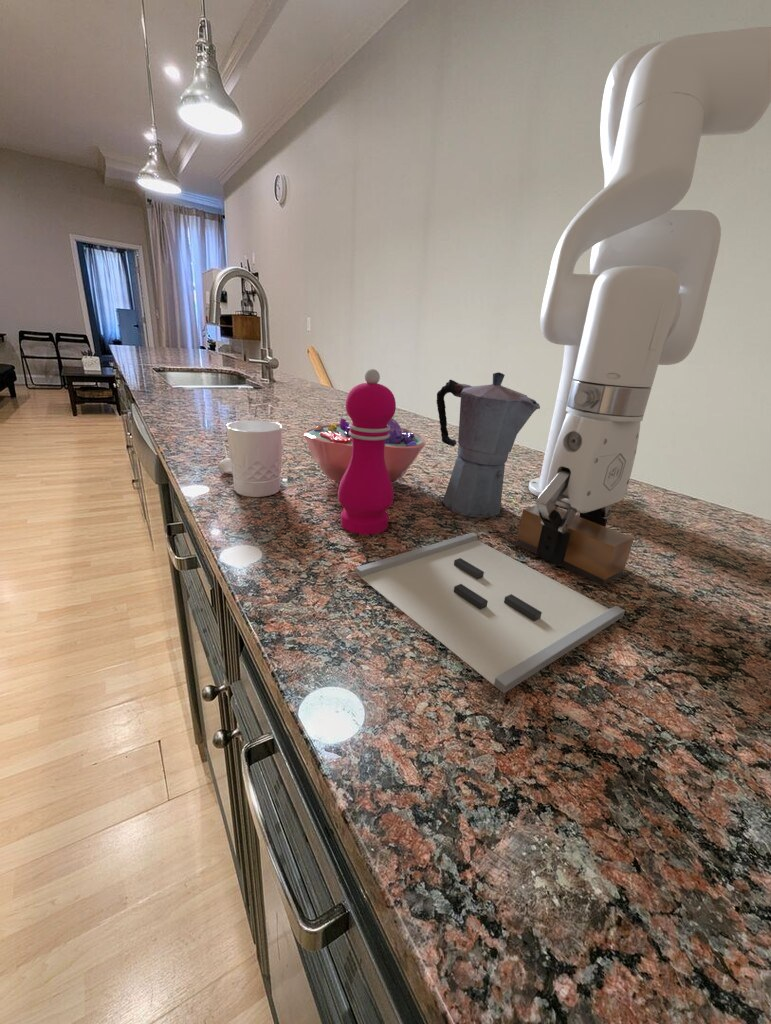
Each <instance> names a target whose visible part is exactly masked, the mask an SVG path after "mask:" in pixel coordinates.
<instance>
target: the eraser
mask: <svg viewBox="0 0 771 1024" xmlns="http://www.w3.org/2000/svg"><path fill="white" fill-rule="evenodd" d="M556 511H558V512H559V514H560V516H561V518H562V519H563V517H564V515H565V513H566V511H567V510H566V511H565V510H564V509H562V508H559V507H558V508H557V510H556ZM539 513H540V512H539V509H538V507H537V505H534V506H531V507H526V508H523V509H522V512H521V518H520V522H519V528H518V533H517V536H516V537H517V539H516V542H515V544H516V545H517V546H519V547H522V548H524V549H526V550H528V551H530V552H532V553H534V554H536V555H537V548H538V543H539V539H540V534H541V530H542V525H541V518H540V515H539ZM579 516H580V515H576V514H575V516H574V518H573V520H572V522H571V524H570V526H569V528H568V530H567V532H570V533H571V534H570V538H569V542H568V546H567V550H566V554H565V558H564V562H563V563H562V564H560V565H559V566H561V567H563V568H565V569H566V570H569V571H571V572H573V573H575V574H577V575H579V576H581V577H583V578H585V579H587V580H589V581H590V582H591V581H592V582H593V583H595V584H598V585H600V586H602V587H603V586H605V585H607V584H609V583H611V582H613V581H614V580H616V579H619V578H620V577H622V576H623V575H624V572H625V568H626V566H627V562H628V559H629V556H630V553H631V549H632V547H633V544H634V540H635V537H633V536H630V535H628V534H625V533H623V532H620V531H617V530H614V529H612V528H610V527H607V526H606V527H605V526H602V525H599V524H597V523H594V522H592V521H589V520H586V519H584V518H581V517H579Z"/></svg>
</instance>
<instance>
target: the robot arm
mask: <svg viewBox="0 0 771 1024" xmlns="http://www.w3.org/2000/svg"><path fill="white" fill-rule="evenodd" d="M603 90H604V91H603V95H602V102H601V109H600V124H599V132H600V133H599V141H600V152H601V160H602V166H603V167H602V168H603V176H604V177H603V178H604V179H603V180H604V186H603V188H602V189H600V191H599V192H598V193H596V195H594V196H593V197H592V198H591V199H590V200H588V201H587V202H586V204H585V205H584V206H583V207H582V208H580V210H579V211H578V212H577V213H576V214H575V215H574V217H573V218H572V219H571V221H570V222H569V223H568V225H567V226H566V228H565V229H564V231H563V232H562V234H561V236H560V238H559V239H558V242H557V244H556V247H555V249H554V252H553V254H552V258H551V261H550V267H549V272H548V276H547V281H546V285H545V289H544V293H543V299H542V304H541V309H540V319H539V325H540V326H539V327H540V331H541V334H542V335H543V337H544V338H545V339H546V340H547V341H548V342H550V343H552V344H555V345H559V346H564V347H563V348H564V349H563V357H562V366H561V367H562V368H561V372H560V378H559V385H558V389H557V394H556V399H555V404H554V409H553V413H552V418H551V423H550V427H549V433H548V438H547V442H546V446H545V452H544V455H543V456H544V457H543V461H542V466H541V471H540V476H539V477H536V478H533V479H531V480H530V481H529V483H528V490H529V492H530V493H531V494H532V495H534V496H535V497H537V498H536V501H535V504H536V506H537V507H538V509H539V512H540V513H539V515H540V518H541V525H542V530H541V534H540V539H539V543H538V548H537V554H536V555H537V556H538V557H541V558H543V559H545V560H546V561H549V562H551V563H553V564H555V565H557V566H561V565H560V564H562V563H563V562H564V558H565V554H566V550H567V546H568V542H569V538H570V534H571V533H570V532H567V530H568V528H569V526H570V524H571V522H572V520H573V518H574V516H575V515H576V514H577V512H578V513H579V515H578V516H579V517H581V518H584V519H586V520H589V521H592V522H594V523H597V524H599V525H602V526H605V527H607V523H608V518H609V517H610V516H611V514H612V505H614V504H617V503H619V502H621V501H622V500H623V499H624V498H625V497H626V495H627V492H628V488H629V483H630V480H631V475H632V472H633V467H634V463H635V458H636V454H637V449H638V444H639V438H640V430H641V422H643V420H644V417H645V413H646V409H647V406H648V403H649V399H650V395H651V391H652V387H653V384H654V381H655V378H656V374H657V371H658V367H659V366H670V365H676V364H679V363H681V362H683V361H684V360H685V359H687V357H688V356H689V355H690V354H691V352H692V350H693V349H694V347H695V344H696V342H697V339H698V336H699V332H700V329H701V325H702V321H703V318H704V313H705V308H706V304H707V300H708V296H709V292H710V287H711V284H712V280H713V275H714V272H715V271H714V270H715V266H716V264H717V263H716V262H717V259H718V254H719V248H720V243H721V235H722V228H721V224H720V223H721V222H720V220H719V218H718V217H717V216H716V215H715V213H713V212H711V211H707V210H702V209H673V208H676V206H677V205H678V204H679V203H680V202H682V200H684V198H685V197H686V195H687V194H688V192H689V190H690V188H691V185H692V182H693V179H694V174H695V173H694V172H695V168H696V162H697V158H698V150H699V146H700V141H701V137H706V136H707V137H709V136H726V135H740V134H744V133H746V132H748V131H750V130H751V129H752V128H754V127H755V126H756V124H757V123H758V122H759V121H760V120H761V119H762V117H763V116H764V115H765V113H766V111H767V110H768V108H769V106H770V104H771V26H757V27H755V26H754V27H748V28H747V27H746V28H740V29H730V30H722V31H721V30H720V31H711V32H702V33H701V32H700V33H694V34H687V35H682V36H677V37H673V38H671V39H668V40H667V39H666V40H663V41H656V42H651V43H647V44H644V45H640V46H638V47H636V48H634V49H631V50H629V51H627V52H626V53H624V54H622V55H621V56H620V57H619V59H617V60H616V62H614V64H613V65H612V67H611V68H610V71H609V73H608V75H607V78H606V82H605V84H604V89H603ZM590 249H591V251H590V260H589V272H590V273H574V271H575V267H576V265H577V262H578V261H579V259H580V258H581V257H582V256H583V255H584V254H585V253H586V252H587V251H588V250H590ZM557 508H558V509H562V510H564V511H565V510H566V513H565V515H564V517H563V519H562V518H561V516H560V514H559V512H558V511H556V510H557Z"/></svg>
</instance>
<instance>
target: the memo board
mask: <svg viewBox="0 0 771 1024" xmlns="http://www.w3.org/2000/svg"><path fill="white" fill-rule="evenodd" d="M478 536H479V535H478V534H476V533H475V532H468V533H466V534H461V535H459V536H456V537H452V538H449V539H445V540H441V541H438V542H436V543H433V544H429V545H425V546H422V547H419V548H416V549H412V550H409V551H406V552H403V553H402V552H401V553H399V554H396V555H392V556H389V557H386V558H382V559H379V560H375V561H373V562H369V563H366V564H362V565H359V566H356V567H355V575H356V576H358V577H359V578H360V579H361V580H362V581H364V582H365V583H366V584H368V585H369V586H370V587H371V588H373V589H374V590H375V591H377V592H378V593H379V594H380V595H381V596H382V597H384V598H385V599H386V600H387V601H389V602H390V603H391V604H393V606H395V607H396V608H398V610H400V611H401V612H402V613H404V614H405V616H407V617H409V618H410V619H411V620H412V621H413V622H414V623H416V624H417V625H419V627H421V628H422V629H423V630H425V632H427V633H428V634H429V635H431V636H432V637H433V638H435V639H436V640H437V641H438V642H440V643H441V644H442V645H443V646H444V647H445V648H447V649H448V650H449V651H451V653H452V654H454V655H455V656H456V657H458V658H459V659H461V660H462V661H463V662H464V663H466V664H467V665H468V666H469V667H471V668H472V669H473V670H474V671H475V672H476V673H478V674H479V675H480V676H482V677H483V678H484V679H485V680H486V681H488V682H489V683H490V684H492V685H493V686H494V687H495V688H496V689H497V690H499V691H500V692H501V693H502V694H505V693H507V692H508V691H510V690H512V689H514V688H515V687H516V686H518V685H520V684H521V683H522V682H524V681H526V680H527V679H529V678H531V677H532V676H533V675H535V674H537V673H538V672H539V671H541V670H543V669H545V668H547V666H549V665H551V664H552V663H554V662H556V661H557V660H558V659H560V658H562V657H563V656H565V655H566V654H568V653H569V652H571V651H572V650H574V649H575V648H577V647H579V646H580V645H582V644H583V643H585V642H586V641H588V640H590V639H591V638H593V637H595V636H596V635H597V634H599V633H600V632H602V631H604V630H605V629H607V628H608V627H610V626H611V625H613V624H615V623H616V622H617V621H619V620H621V619H622V618H623V617H624V615H625V612H626V609H624V608H621V607H620V606H618V605H613V606H612V607H611V608H608V607H607V606H604V605H603V604H601V603H599V602H597V601H595V600H593V599H591V598H589V597H587V596H585V595H584V594H582V593H580V592H578V591H576V590H574V589H573V588H570V587H568V586H566V585H564V584H563V583H560V582H558V581H557V580H555V579H553V578H551V577H549V576H547V575H546V574H543V573H542V572H540V571H537V570H535V569H534V568H532V567H530V566H528V565H526V564H524V563H522V562H520V561H518V560H516V559H514V558H513V557H511V556H509V555H507V554H505V553H504V552H502V551H499V550H498V549H496V548H493V547H491V546H489V545H488V544H486V543H484V542H482V541H480V540H478V538H479V537H478ZM459 558H461V559H463V560H465V561H466V562H468V563H470V564H471V565H473V566H475V567H477V568H478V569H480V570H482V571H483V572H484V575H483V577H482V578H480V579H476V578H474V577H472V576H471V575H469V574H468V573H466V572H464V571H463V570H461V569H459V568H458V567H456V566H454V560H456V559H459ZM459 584H462V585H464V586H465V587H467V588H468V589H470V590H472V591H473V592H475V593H476V594H478V595H479V596H481V597H483V598H484V599H486V600H487V601H488V603H487V607H485V608H483V609H481V610H480V609H478V608H477V607H475V606H474V605H472V604H471V603H469V602H468V601H466V600H465V599H463V598H462V597H460V596H459V595H457V594H456V593H454V587H455V586H457V585H459ZM510 594H512V595H514V596H515V597H517V598H519V599H520V600H522V601H524V602H525V603H527V604H529V605H530V606H532V607H534V608H536V609H537V610H539V611H541V612H542V614H541V618H540V619H538V620H536V621H533V620H531V619H529V618H528V617H526V616H525V615H523V614H521V613H520V612H518V611H517V610H515V609H513V608H512V607H510V606H508V605H507V604H505V603H504V600H505V597H506V596H508V595H510Z"/></svg>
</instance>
